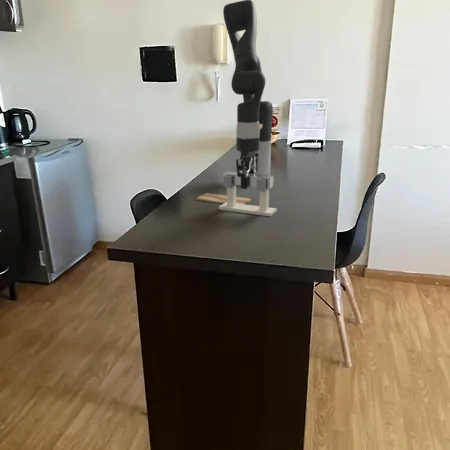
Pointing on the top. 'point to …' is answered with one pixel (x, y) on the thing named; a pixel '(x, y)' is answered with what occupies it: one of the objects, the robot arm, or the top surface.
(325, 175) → the top surface
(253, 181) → the rail
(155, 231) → the top surface
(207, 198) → the mat
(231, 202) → the rail stand
